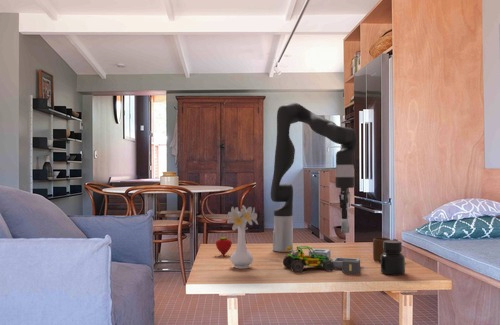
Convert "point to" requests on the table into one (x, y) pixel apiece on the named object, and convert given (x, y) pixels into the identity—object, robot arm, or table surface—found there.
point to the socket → (320, 252)
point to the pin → (345, 222)
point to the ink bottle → (392, 258)
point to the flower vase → (241, 235)
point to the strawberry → (223, 245)
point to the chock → (351, 266)
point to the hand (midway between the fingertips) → (345, 218)
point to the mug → (379, 248)
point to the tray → (340, 262)
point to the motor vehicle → (305, 260)
